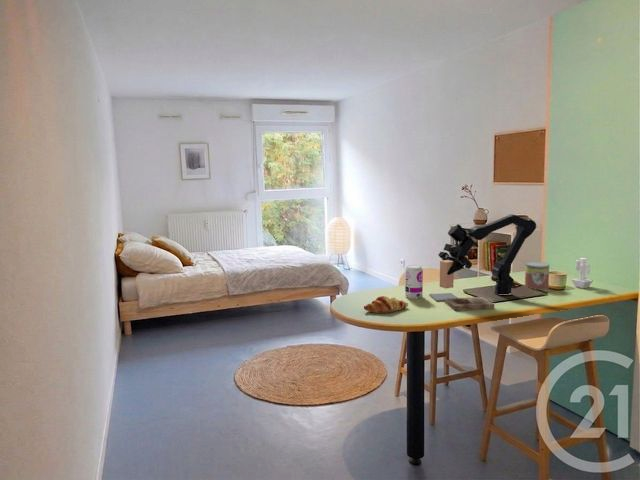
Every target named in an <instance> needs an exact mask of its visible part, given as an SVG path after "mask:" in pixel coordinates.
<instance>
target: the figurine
mask: <svg viewBox="0 0 640 480" xmlns="http://www.w3.org/2000/svg"><path fill="white" fill-rule="evenodd" d="M587 259H588V258H586V257H579V259H576V260H575V270H576V271H577V272H579V274H578V276H579V277H578V278H577V277H576V278H572V279H571V278H570V279H571V282H572V284H573V285H574V287H576V288H579V289H586V288H590V286H591V285H592V283H593V281H594V280H592V279H588V278H586V275H590V273H591V266H590V263H587Z"/></svg>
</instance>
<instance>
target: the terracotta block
mask: <svg viewBox="0 0 640 480" xmlns="http://www.w3.org/2000/svg"><path fill="white" fill-rule="evenodd" d="M452 265H453V261H450V260H439V287H440V288H443V289H445V290H447V289H451V288H452V289H454V283H455V281H454V277H455V272H454V273H452V274H450V275H448V274H447V273H448V271H449V269H450V268H451V266H452Z"/></svg>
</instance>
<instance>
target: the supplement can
mask: <svg viewBox="0 0 640 480" xmlns="http://www.w3.org/2000/svg"><path fill="white" fill-rule="evenodd" d="M404 269H405V270H404V272H405V273H404V275H405V276H404V277H405V279H404V281H405V283H404V284H405V285H404V287H405V288H404V291H405V297H406V298H408V299H413V300H415V299H421V298H422V296H423V280H424V279H423V275H424V274H423V271H424V270H423V268H422V266H421V265H417V264H416V265H415V264H411V265H407V266H406V267H405V268H404Z"/></svg>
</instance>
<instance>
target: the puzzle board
mask: <svg viewBox="0 0 640 480" xmlns="http://www.w3.org/2000/svg"><path fill="white" fill-rule="evenodd" d="M444 304H446V305H447V306H448V307H450V308H451V310H453V311H472V310H473V311H477V310H495V303H493V302H491V301H490V300H488V299H487V298H485V297H483V296H476V297H457V298H451V299H445V301H444Z"/></svg>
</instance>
